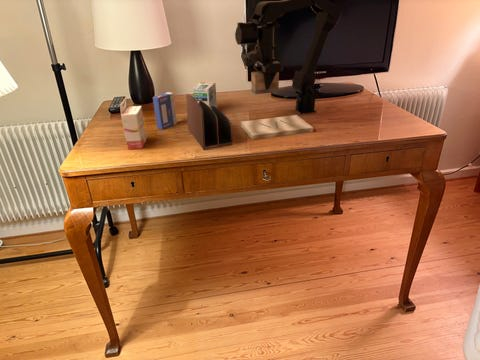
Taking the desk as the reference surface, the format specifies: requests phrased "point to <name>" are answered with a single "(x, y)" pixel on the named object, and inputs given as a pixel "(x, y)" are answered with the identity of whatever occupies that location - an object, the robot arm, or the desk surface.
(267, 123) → the birch board
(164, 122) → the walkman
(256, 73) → the block
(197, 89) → the light bulb box
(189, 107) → the letter holder
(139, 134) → the ink cartridge box
